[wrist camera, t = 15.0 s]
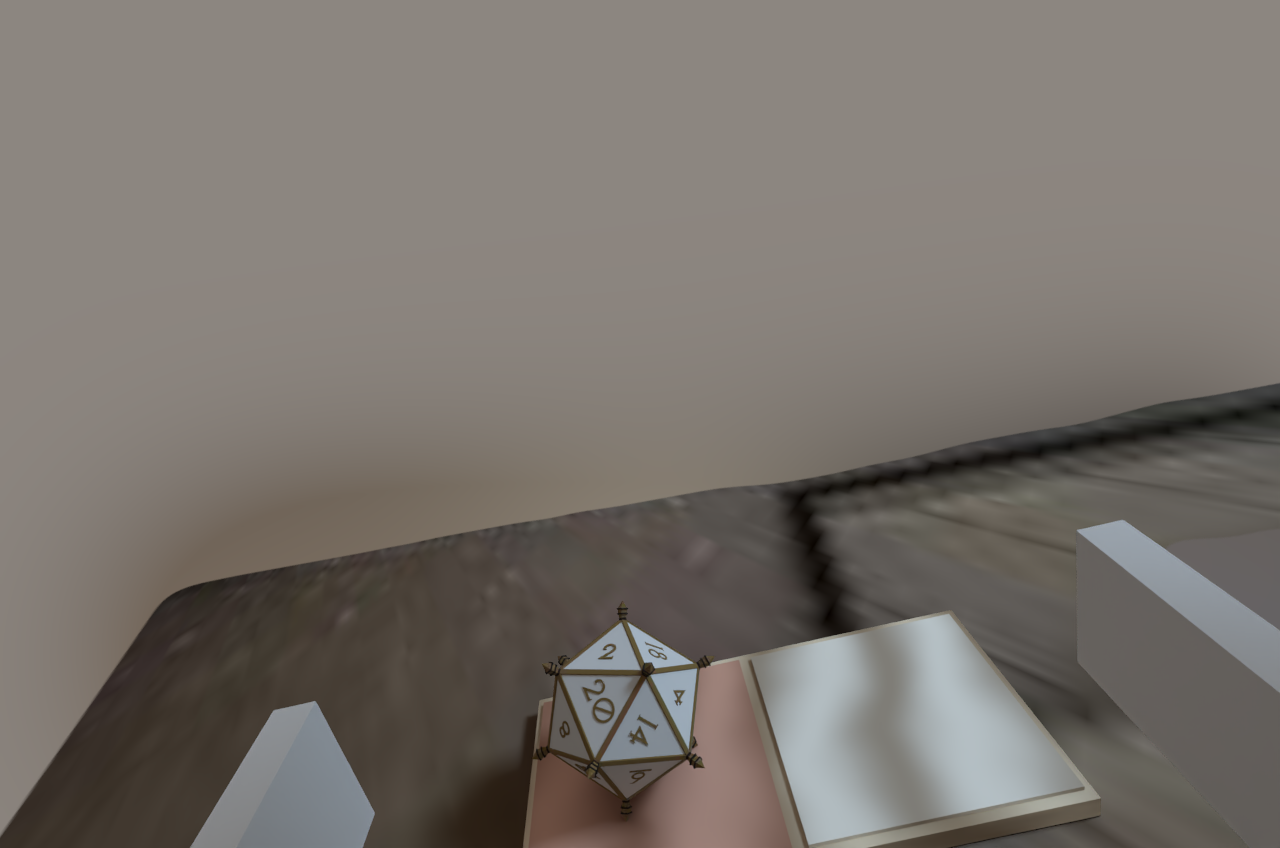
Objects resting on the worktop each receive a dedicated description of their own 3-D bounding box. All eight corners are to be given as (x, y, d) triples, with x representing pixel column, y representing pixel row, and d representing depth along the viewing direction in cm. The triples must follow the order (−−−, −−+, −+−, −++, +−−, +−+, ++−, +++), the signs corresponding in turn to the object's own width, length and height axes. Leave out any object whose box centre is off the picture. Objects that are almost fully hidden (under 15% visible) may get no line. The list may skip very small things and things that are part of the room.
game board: (951, 623, 41) (950, 607, 41) (1100, 815, 29) (1100, 794, 28) (543, 713, 42) (538, 697, 41) (520, 937, 30) (513, 919, 29)
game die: (693, 826, 35) (767, 766, 28) (526, 846, 33) (561, 786, 26) (663, 657, 41) (719, 572, 34) (519, 663, 39) (546, 573, 32)
